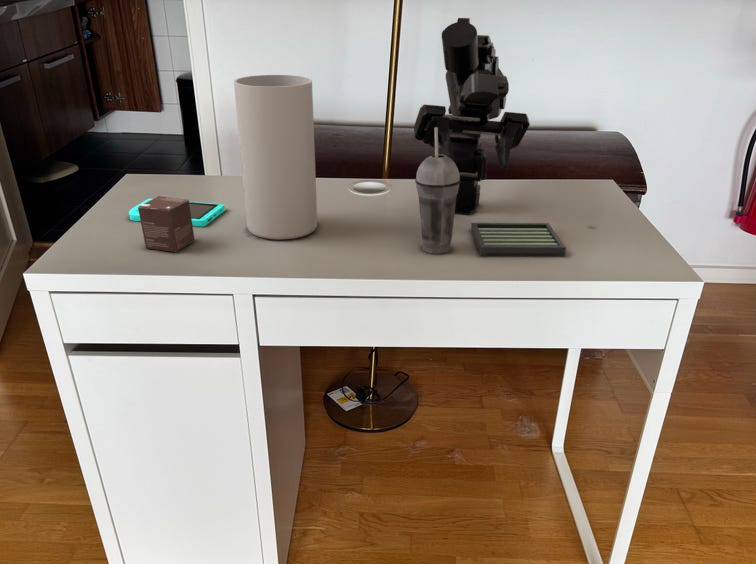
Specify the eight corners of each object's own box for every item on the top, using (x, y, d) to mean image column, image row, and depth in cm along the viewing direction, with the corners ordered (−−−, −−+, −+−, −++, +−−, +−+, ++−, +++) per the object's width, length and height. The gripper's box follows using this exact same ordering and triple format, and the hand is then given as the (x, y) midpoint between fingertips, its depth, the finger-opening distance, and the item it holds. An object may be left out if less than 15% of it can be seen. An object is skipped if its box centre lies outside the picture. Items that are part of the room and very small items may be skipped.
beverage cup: (464, 244, 117) (468, 123, 107) (449, 259, 112) (453, 132, 102) (424, 238, 120) (425, 120, 110) (408, 253, 114) (407, 129, 104)
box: (195, 241, 118) (190, 199, 114) (175, 253, 113) (169, 210, 109) (165, 236, 119) (159, 195, 116) (144, 248, 114) (136, 205, 111)
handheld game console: (150, 203, 135) (149, 196, 134) (226, 209, 132) (226, 202, 132) (123, 220, 126) (122, 212, 126) (204, 227, 124) (203, 219, 123)
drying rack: (480, 256, 113) (481, 247, 112) (470, 231, 124) (471, 222, 123) (564, 256, 114) (565, 247, 113) (547, 231, 124) (549, 222, 123)
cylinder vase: (330, 224, 126) (326, 78, 113) (291, 246, 116) (282, 89, 104) (275, 213, 131) (265, 72, 118) (233, 233, 121) (217, 82, 109)
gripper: (425, 50, 109) (438, 125, 102) (534, 62, 113) (552, 135, 107) (408, 102, 119) (419, 174, 112) (509, 111, 123) (524, 181, 117)
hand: (479, 165), depth 112 cm, fingers open, 9 cm apart
